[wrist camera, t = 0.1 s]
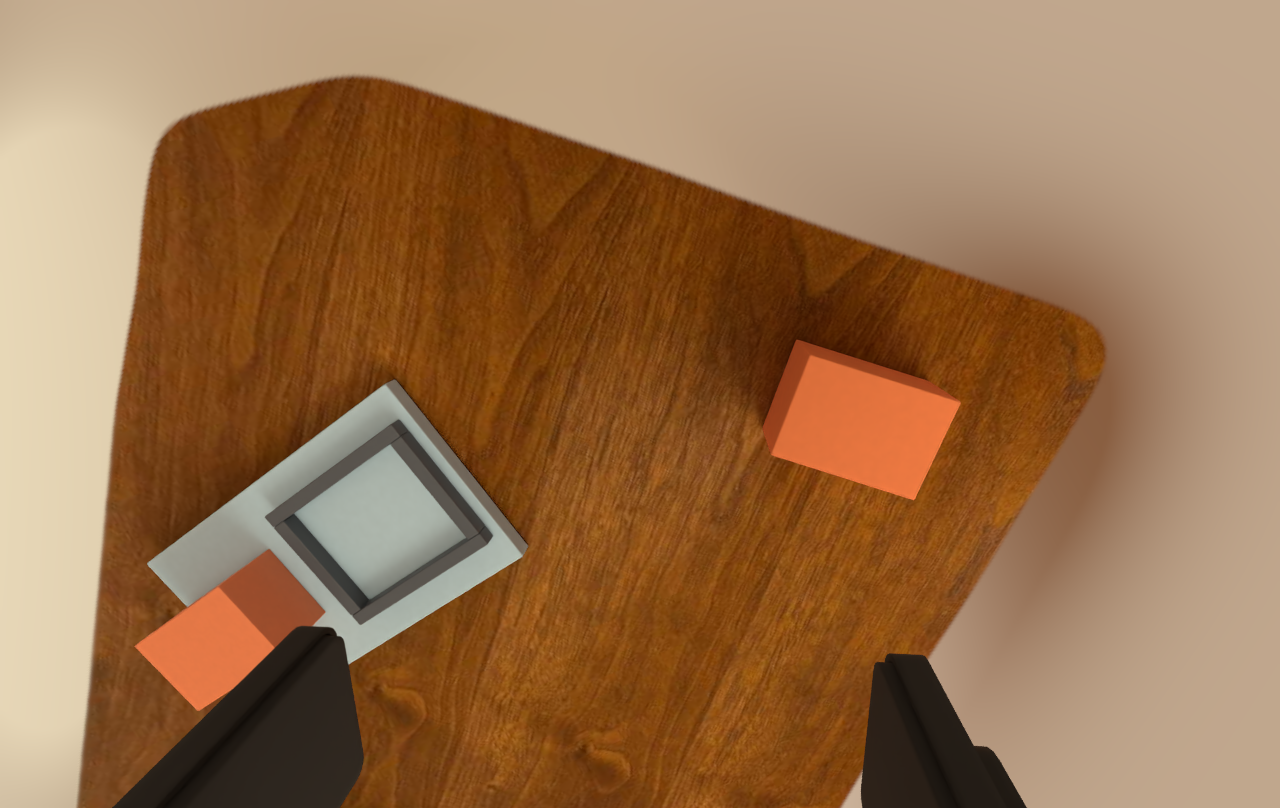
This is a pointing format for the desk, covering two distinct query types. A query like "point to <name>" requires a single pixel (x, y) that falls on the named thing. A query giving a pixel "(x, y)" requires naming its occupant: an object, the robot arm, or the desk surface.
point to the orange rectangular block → (857, 419)
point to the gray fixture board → (329, 548)
